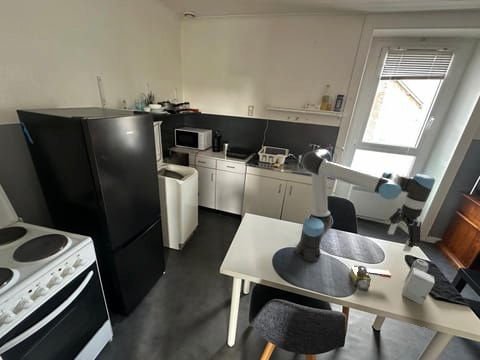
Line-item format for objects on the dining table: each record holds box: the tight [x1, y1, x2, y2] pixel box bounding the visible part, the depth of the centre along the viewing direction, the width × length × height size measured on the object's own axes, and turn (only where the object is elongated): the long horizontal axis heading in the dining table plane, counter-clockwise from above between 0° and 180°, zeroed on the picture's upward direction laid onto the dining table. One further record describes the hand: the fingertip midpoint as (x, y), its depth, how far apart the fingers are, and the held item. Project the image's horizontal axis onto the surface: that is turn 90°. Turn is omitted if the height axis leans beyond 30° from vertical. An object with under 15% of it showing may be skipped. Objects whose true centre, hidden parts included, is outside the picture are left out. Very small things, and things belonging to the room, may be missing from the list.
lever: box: [357, 265, 392, 279], centre depth 108 cm, size 16×4×2 cm, turn 81°
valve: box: [349, 265, 372, 292], centre depth 110 cm, size 13×7×6 cm, turn 171°
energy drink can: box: [405, 258, 429, 282], centre depth 109 cm, size 6×6×15 cm
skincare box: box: [401, 268, 435, 306], centre depth 101 cm, size 8×6×15 cm
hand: (397, 242), depth 106 cm, fingers open, 13 cm apart
